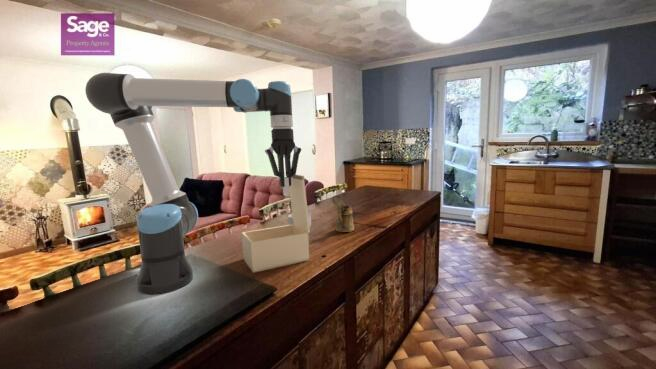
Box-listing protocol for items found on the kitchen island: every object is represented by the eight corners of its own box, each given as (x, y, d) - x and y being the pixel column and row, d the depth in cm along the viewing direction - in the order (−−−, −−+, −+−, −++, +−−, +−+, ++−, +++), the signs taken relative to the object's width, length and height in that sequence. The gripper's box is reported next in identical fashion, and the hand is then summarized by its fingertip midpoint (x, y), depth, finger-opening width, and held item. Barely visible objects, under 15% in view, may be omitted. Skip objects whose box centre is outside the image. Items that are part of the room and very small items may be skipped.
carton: (253, 272, 100) (251, 243, 99) (243, 258, 112) (241, 232, 111) (309, 260, 109) (308, 233, 108) (294, 248, 122) (293, 224, 120)
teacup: (300, 235, 139) (300, 218, 138) (283, 231, 146) (283, 215, 144) (320, 228, 150) (319, 212, 149) (303, 225, 156) (302, 209, 155)
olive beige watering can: (327, 234, 140) (326, 195, 137) (341, 226, 151) (340, 190, 149) (345, 236, 135) (344, 196, 133) (357, 228, 147) (357, 191, 144)
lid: (301, 176, 104) (303, 176, 105) (287, 173, 117) (289, 173, 117) (308, 232, 108) (310, 232, 108) (293, 223, 120) (295, 223, 121)
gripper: (266, 128, 100) (272, 199, 104) (303, 127, 106) (307, 194, 110) (260, 129, 107) (265, 196, 110) (295, 128, 113) (299, 192, 116)
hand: (286, 195), depth 110 cm, fingers closed
